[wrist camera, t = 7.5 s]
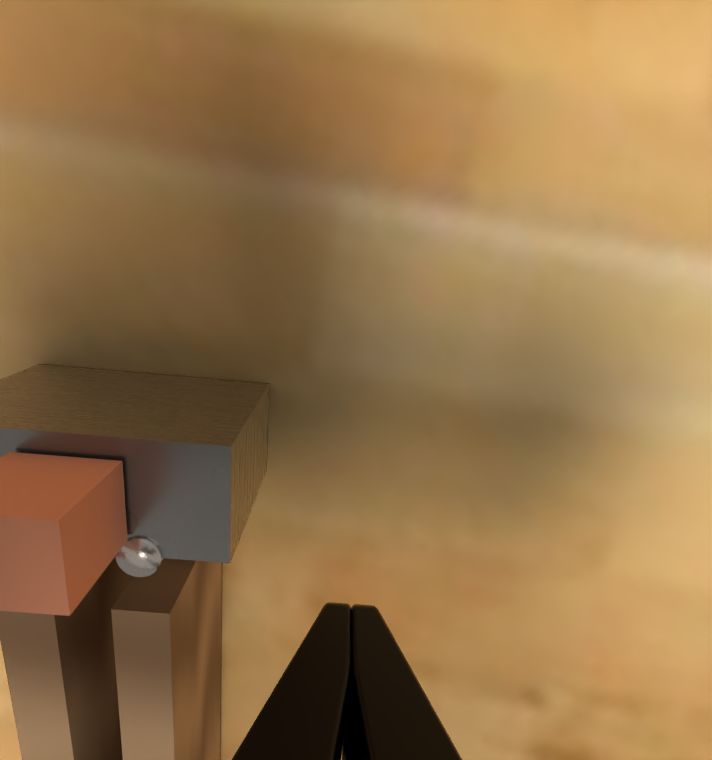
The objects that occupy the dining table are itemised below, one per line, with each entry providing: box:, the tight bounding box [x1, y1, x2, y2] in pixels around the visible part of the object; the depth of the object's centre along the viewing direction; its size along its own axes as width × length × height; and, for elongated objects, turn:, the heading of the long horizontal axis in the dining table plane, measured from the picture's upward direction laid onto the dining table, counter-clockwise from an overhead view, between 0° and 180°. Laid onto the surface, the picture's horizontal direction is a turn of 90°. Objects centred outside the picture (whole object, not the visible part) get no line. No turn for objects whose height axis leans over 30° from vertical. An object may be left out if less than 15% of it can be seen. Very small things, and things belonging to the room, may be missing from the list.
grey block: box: [0, 364, 269, 577], centre depth 12 cm, size 7×4×5 cm, turn 85°
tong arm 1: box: [111, 558, 222, 760], centre depth 16 cm, size 16×2×4 cm, turn 175°
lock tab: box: [0, 452, 128, 616], centre depth 9 cm, size 2×2×2 cm
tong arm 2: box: [0, 556, 133, 760], centre depth 15 cm, size 16×2×4 cm, turn 175°
